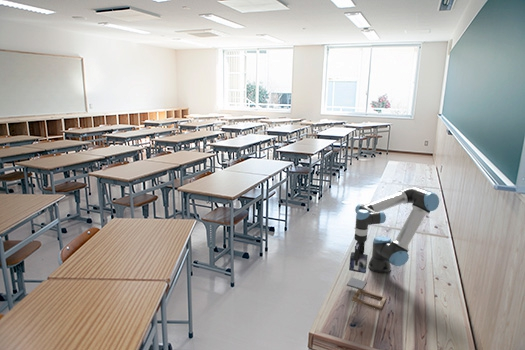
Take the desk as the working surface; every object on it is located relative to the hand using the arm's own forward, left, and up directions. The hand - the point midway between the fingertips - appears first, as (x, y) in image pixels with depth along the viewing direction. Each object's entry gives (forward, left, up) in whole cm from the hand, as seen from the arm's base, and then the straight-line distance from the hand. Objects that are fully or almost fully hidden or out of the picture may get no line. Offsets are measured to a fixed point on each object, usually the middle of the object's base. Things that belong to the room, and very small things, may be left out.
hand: (358, 267), depth 218 cm
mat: (0, 0, -12) cm, 12 cm away
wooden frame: (+14, +12, -12) cm, 22 cm away
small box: (0, 0, -2) cm, 2 cm away
